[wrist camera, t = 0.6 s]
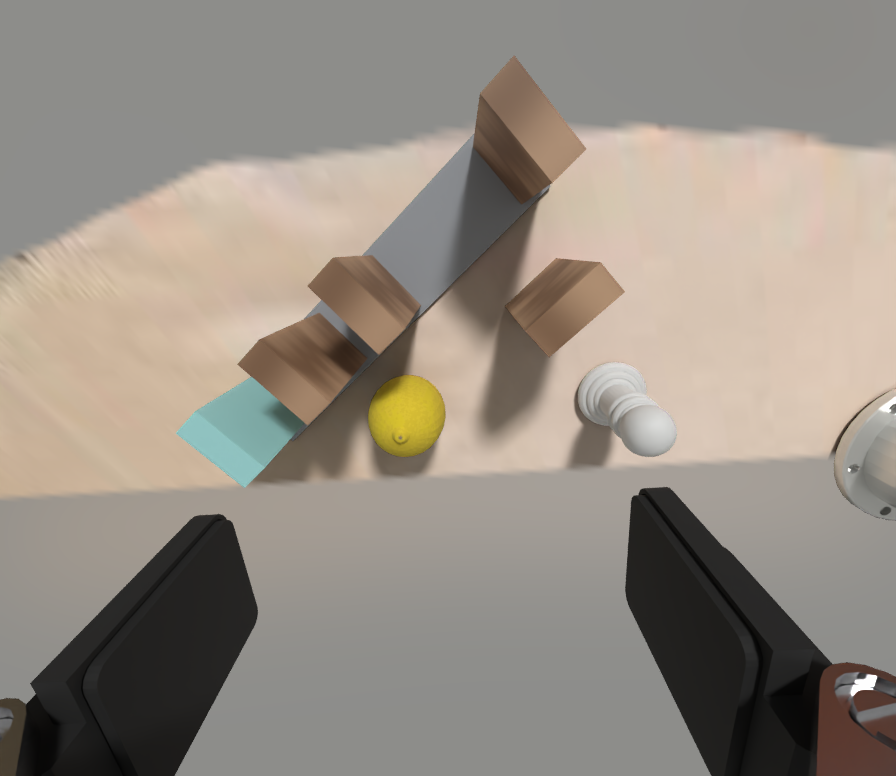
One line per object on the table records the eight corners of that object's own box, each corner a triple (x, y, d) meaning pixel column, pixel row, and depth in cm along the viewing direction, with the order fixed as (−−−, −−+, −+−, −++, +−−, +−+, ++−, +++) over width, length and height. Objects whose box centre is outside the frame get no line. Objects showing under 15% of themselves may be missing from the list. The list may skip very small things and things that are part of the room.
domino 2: (420, 305, 31) (404, 329, 22) (402, 323, 32) (378, 354, 22) (372, 255, 30) (332, 257, 21) (354, 275, 31) (307, 286, 21)
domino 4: (556, 258, 30) (600, 262, 21) (573, 278, 31) (624, 291, 21) (504, 306, 31) (525, 330, 22) (522, 325, 32) (549, 357, 22)
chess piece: (579, 427, 34) (619, 486, 26) (572, 367, 33) (612, 408, 24) (644, 416, 34) (707, 472, 25) (641, 354, 32) (707, 392, 24)
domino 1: (367, 358, 33) (330, 402, 23) (350, 375, 33) (307, 425, 24) (319, 312, 32) (259, 339, 22) (302, 330, 32) (237, 364, 23)
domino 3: (543, 182, 28) (586, 149, 19) (521, 204, 29) (552, 182, 19) (494, 122, 27) (514, 55, 18) (472, 146, 28) (480, 93, 18)
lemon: (443, 430, 35) (439, 480, 27) (377, 423, 35) (355, 471, 27) (450, 367, 33) (447, 402, 25) (381, 359, 33) (357, 392, 25)
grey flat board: (549, 186, 29) (550, 186, 28) (294, 439, 35) (292, 441, 35) (491, 115, 27) (492, 113, 27) (237, 391, 34) (235, 393, 34)
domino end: (318, 407, 34) (264, 467, 25) (303, 422, 35) (244, 488, 25) (270, 364, 33) (195, 411, 24) (255, 381, 34) (175, 433, 24)
